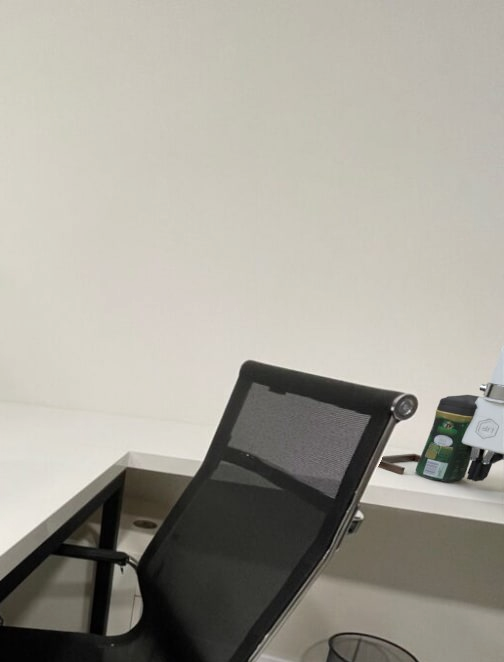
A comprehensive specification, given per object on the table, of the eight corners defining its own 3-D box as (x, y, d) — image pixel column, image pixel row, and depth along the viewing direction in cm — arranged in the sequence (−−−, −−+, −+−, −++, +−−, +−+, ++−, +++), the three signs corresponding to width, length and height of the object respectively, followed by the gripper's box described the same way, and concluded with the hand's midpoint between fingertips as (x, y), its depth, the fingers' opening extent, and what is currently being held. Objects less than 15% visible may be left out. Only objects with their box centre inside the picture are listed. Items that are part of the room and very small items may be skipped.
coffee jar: (431, 469, 130) (459, 390, 123) (468, 480, 124) (501, 398, 117) (407, 473, 126) (435, 392, 119) (444, 484, 120) (477, 400, 113)
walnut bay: (445, 469, 131) (448, 463, 130) (400, 474, 125) (402, 468, 124) (412, 459, 137) (414, 453, 137) (367, 463, 132) (369, 457, 131)
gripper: (457, 387, 116) (428, 469, 123) (542, 403, 104) (503, 493, 111) (480, 387, 119) (449, 467, 126) (565, 402, 106) (526, 490, 113)
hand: (475, 479), depth 118 cm, fingers closed
